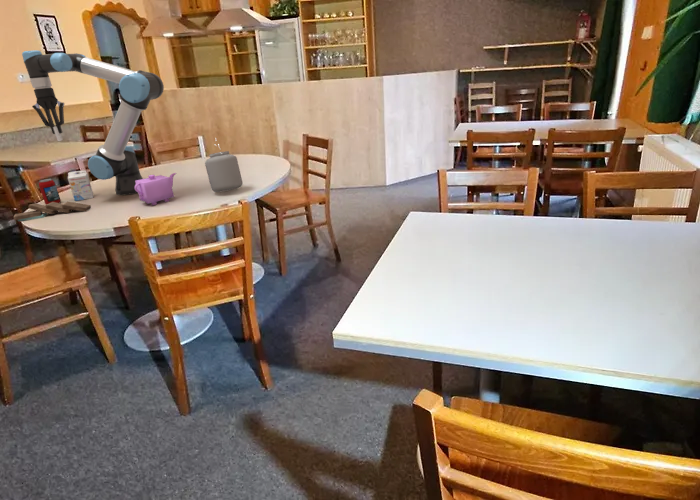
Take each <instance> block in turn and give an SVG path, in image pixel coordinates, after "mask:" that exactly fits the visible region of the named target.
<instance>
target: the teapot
mask: <svg viewBox="0 0 700 500" xmlns="http://www.w3.org/2000/svg"><path fill="white" fill-rule="evenodd" d="M176 174H177V172H174V173H171V174H170V175H169V176H165V175H162V174H159V175H155V174H149V175H148V176H147V177H146V178H143V179H141V180H137V181H135V182H136V185H135V190H136V192H138V193H137V194H138V199H139V201H141V202H143V203H146V204H151V206H156V205H158V202H161V201H163V202H164V203H168V202H170V201H171V200H170V199H171V198H175V194H174V191H173V186H174V177H175V175H176Z"/></svg>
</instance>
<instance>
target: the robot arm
mask: <svg viewBox="0 0 700 500" xmlns="http://www.w3.org/2000/svg"><path fill="white" fill-rule="evenodd" d="M21 55H22V60H23V64H24V66H25V69H26V71H27V74H28V76H29V80H30V83H31V86H32V88H33V92H34V96H35V98H36V101H35V102H36V103H35V104H33V105H32V108H33V109H34V110H35V112H36V113H37V114H38V116H39V117H40V120H41V121H42V122H43V124H44V126H45V127H50V129H51V130H50V131H51V133H52V134H53V135H55V137H56V140H57V142H62V141H63V140H64V139H63V136H62V133H63V129H62V125H64V124H65V115H64V107H65V102H62V101H59V99H58V98H57V97H56V94H55V91H54V88H53V85H52V81H51V78H50V76H49V73H50V74H51V73H65V72H77V73H80V74H84V75H88V76H92V77H94V78H97V79H98V78H99V79H102V80H105V81H108V82H112V83H115V84H118V90H119V93H120V94H119V95H118V96H119V99H120V101H121V102H120V105H119V107H118V110H117V112H116V114H115V116H114V118H113V122H112V124H111V126H110V129H109V132H108V134H107V136H106V139H105V141H104V144H101V145H99V146H98V148H97V151H96V153H95V154H94V155H92V156H91V157H90V158H89V159H88V161H87V167H88V169H89V172H90V173H91V174H92V175H93V176H94V178H97V179H99V180H101V181H102V180H103V181H105V180H109V179H112V178H115V188H114V189H115V194H116V195H117V196H118V195H119V196H127V195H134V194H139V193H138V192H136V190H135V185H136V182H135V181H137V180H141V179H144V177H143V176H142V174H141V171H140V168H139V165H138V160H137V157H136V152H135V149H134V148H133V146H131V145H128V144H129V141H130V138H131V136H132V134H133V131H134V129H135V127H136V125H137V122H138V120H139V117H140V115H141V114H142V111H146V110H147V108H148V106H149V103H150V102H151V101H153V100H157V99H158V98H160V97H161V96H162V95H163V93H164V89H165V87H164V85H165V84H164V82H163V80H162V79H161V77H159V75H157V74H156V73H153V72H149V71H145V70H140V69H139V70H137V71H135V70H131V69H129V68H126V67H122V66H119V65H116V64H112V63H108V62H104V61H101V60H98V59H93V58H90V57H87V56H86V55H83V54H81V53H75V52H74V53H64V52H54V53H48V54H47V53H46V54H43V53H42V51H41V50H35V49H34V50H26V51H25V50H24V51H23V52H22V53H21ZM57 106H58V113H57V109H56V107H57ZM41 108H42V109H43V110H44V113H45V114H44V113H43V111H42V109H41Z"/></svg>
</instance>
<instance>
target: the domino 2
mask: <svg viewBox="0 0 700 500" xmlns="http://www.w3.org/2000/svg"><path fill="white" fill-rule="evenodd" d="M47 215H48V213H45V212H43V213H42V215H41V216H36V217H31V218H25V219H20V220H17V222H25V221H30V220H36V219H43V218H45V217H46V216H47Z"/></svg>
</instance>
